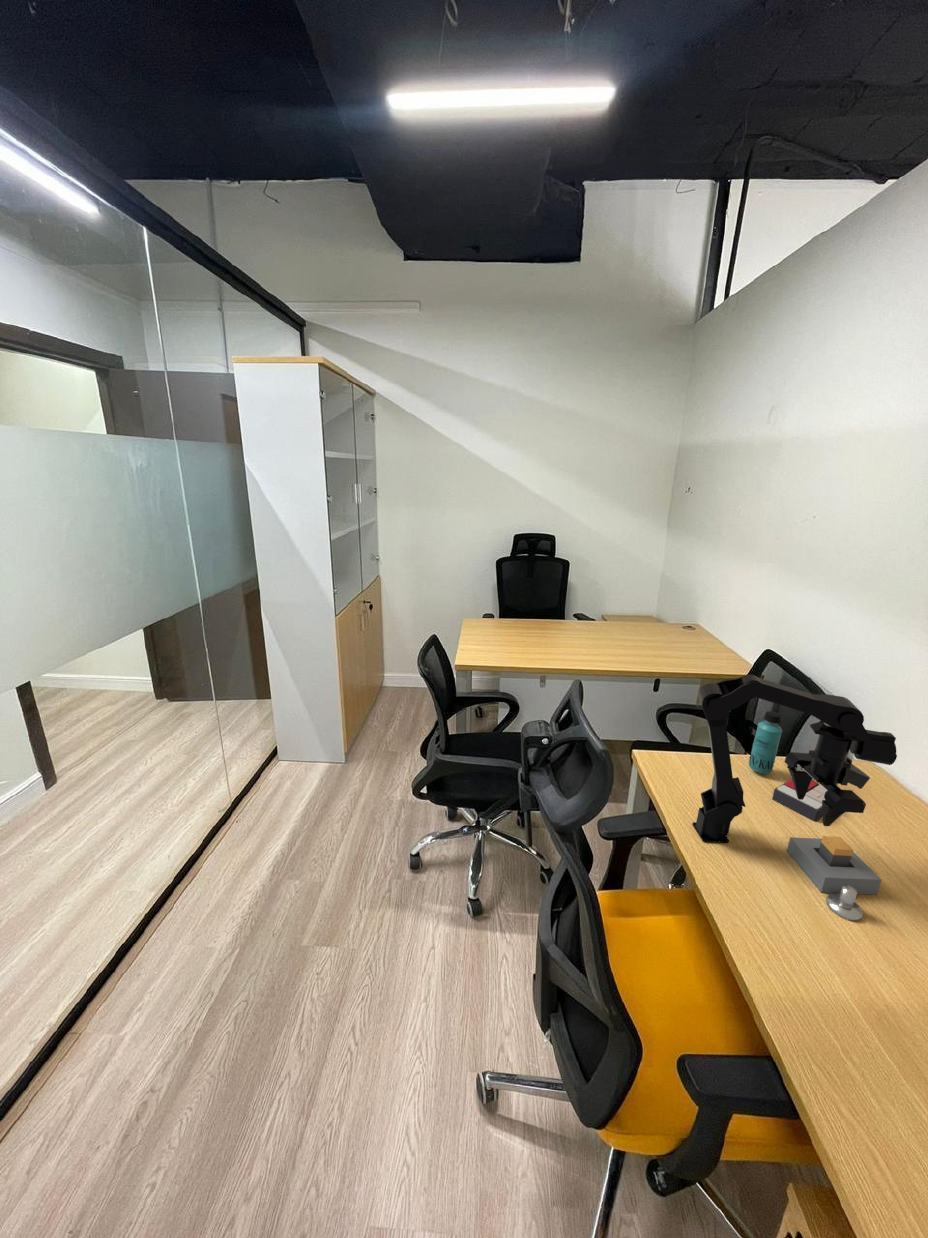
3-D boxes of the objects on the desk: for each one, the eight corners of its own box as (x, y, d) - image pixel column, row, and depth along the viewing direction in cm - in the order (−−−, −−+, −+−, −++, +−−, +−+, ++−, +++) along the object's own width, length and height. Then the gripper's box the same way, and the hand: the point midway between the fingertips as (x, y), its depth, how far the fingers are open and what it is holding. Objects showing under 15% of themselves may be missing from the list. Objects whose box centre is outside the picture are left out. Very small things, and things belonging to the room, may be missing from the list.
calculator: (843, 792, 133) (819, 808, 125) (838, 806, 134) (815, 823, 126) (799, 772, 142) (774, 786, 134) (795, 785, 143) (771, 799, 135)
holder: (820, 892, 104) (825, 877, 103) (786, 851, 116) (790, 837, 115) (876, 894, 104) (881, 879, 103) (836, 853, 116) (841, 839, 115)
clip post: (839, 920, 98) (845, 901, 96) (819, 896, 103) (825, 877, 102) (869, 922, 98) (876, 902, 96) (847, 897, 103) (853, 878, 102)
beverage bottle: (749, 763, 152) (762, 706, 146) (773, 772, 148) (787, 713, 142) (744, 772, 147) (758, 713, 141) (770, 781, 143) (784, 721, 137)
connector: (826, 878, 108) (835, 849, 106) (814, 864, 112) (822, 836, 110) (844, 879, 108) (853, 850, 106) (831, 865, 112) (840, 837, 110)
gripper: (902, 781, 98) (879, 844, 102) (838, 733, 116) (821, 789, 120) (846, 777, 98) (826, 840, 103) (791, 730, 116) (776, 786, 121)
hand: (812, 812), depth 112 cm, fingers open, 9 cm apart
